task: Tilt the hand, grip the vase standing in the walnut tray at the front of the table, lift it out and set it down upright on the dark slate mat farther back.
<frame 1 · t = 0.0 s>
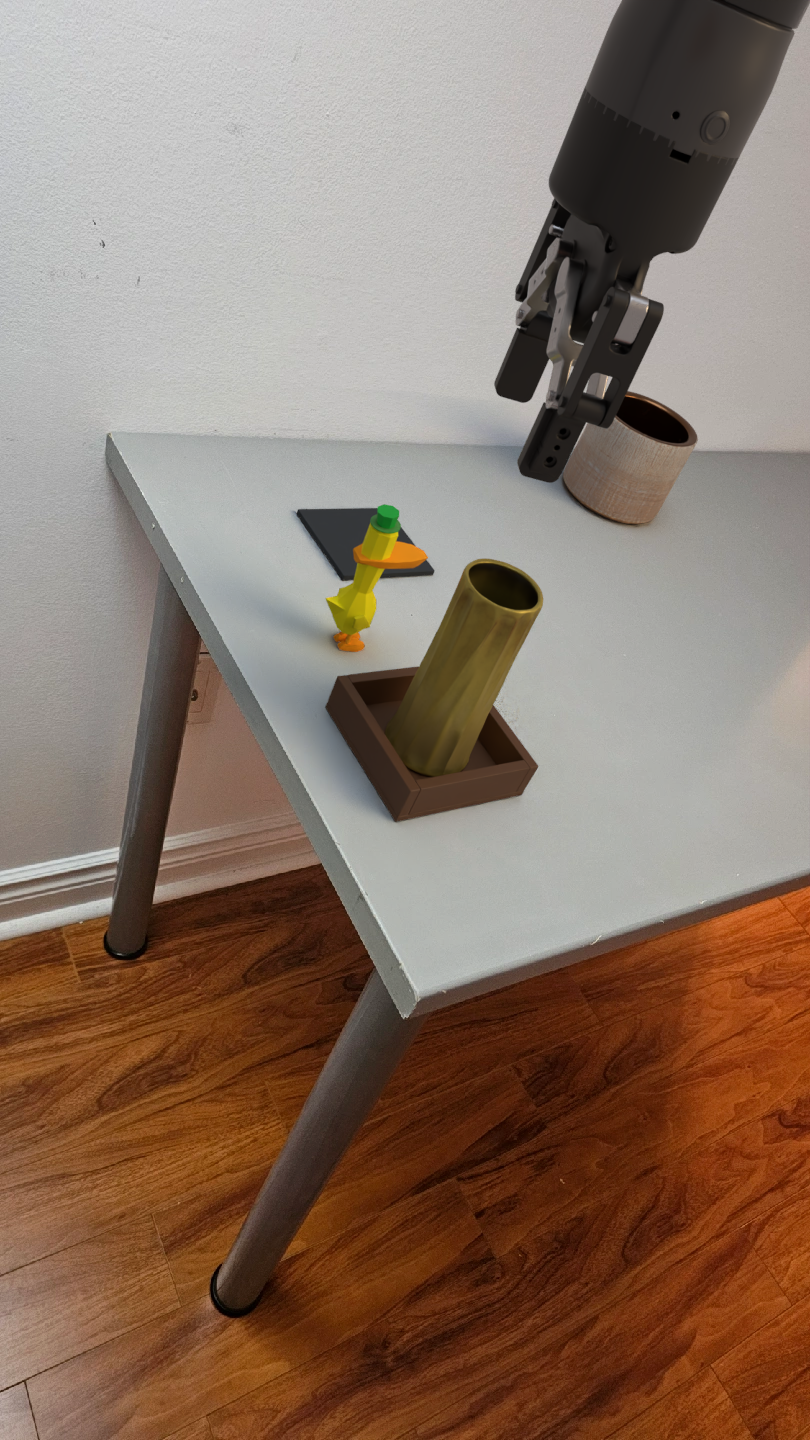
hand: (522, 434, 57), 24 cm above the table, tool pointing down, fingers open, 8 cm apart
vase: (424, 748, 73), resting on tray
tray: (423, 751, 73), on the table
mat: (364, 544, 90), on the table
planter: (606, 498, 112), on the table
toy figure: (349, 645, 79), on the table
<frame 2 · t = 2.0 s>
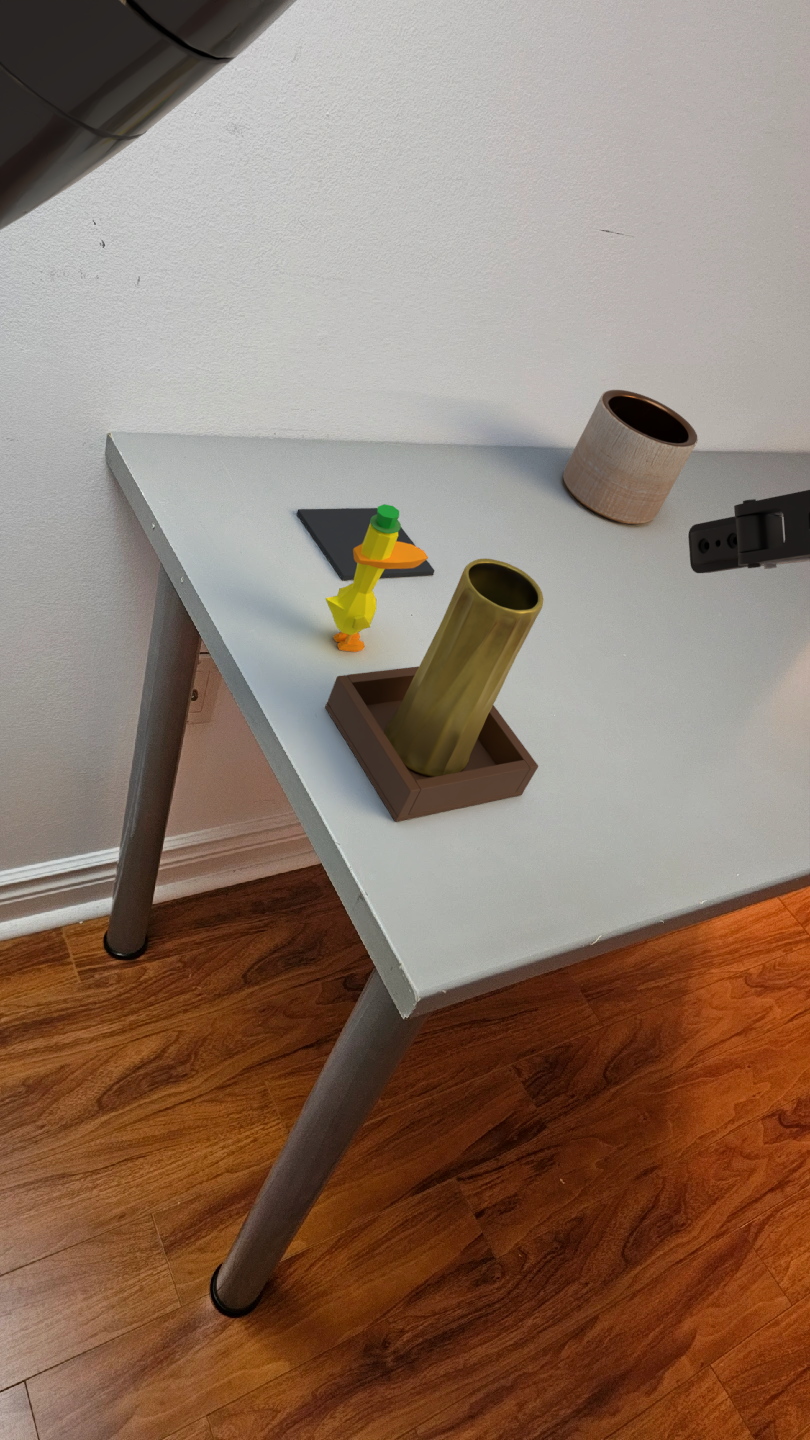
hand: (756, 548, 50), 27 cm above the table, tool tilted 45°, fingers open, 8 cm apart
nothing on the table moved.
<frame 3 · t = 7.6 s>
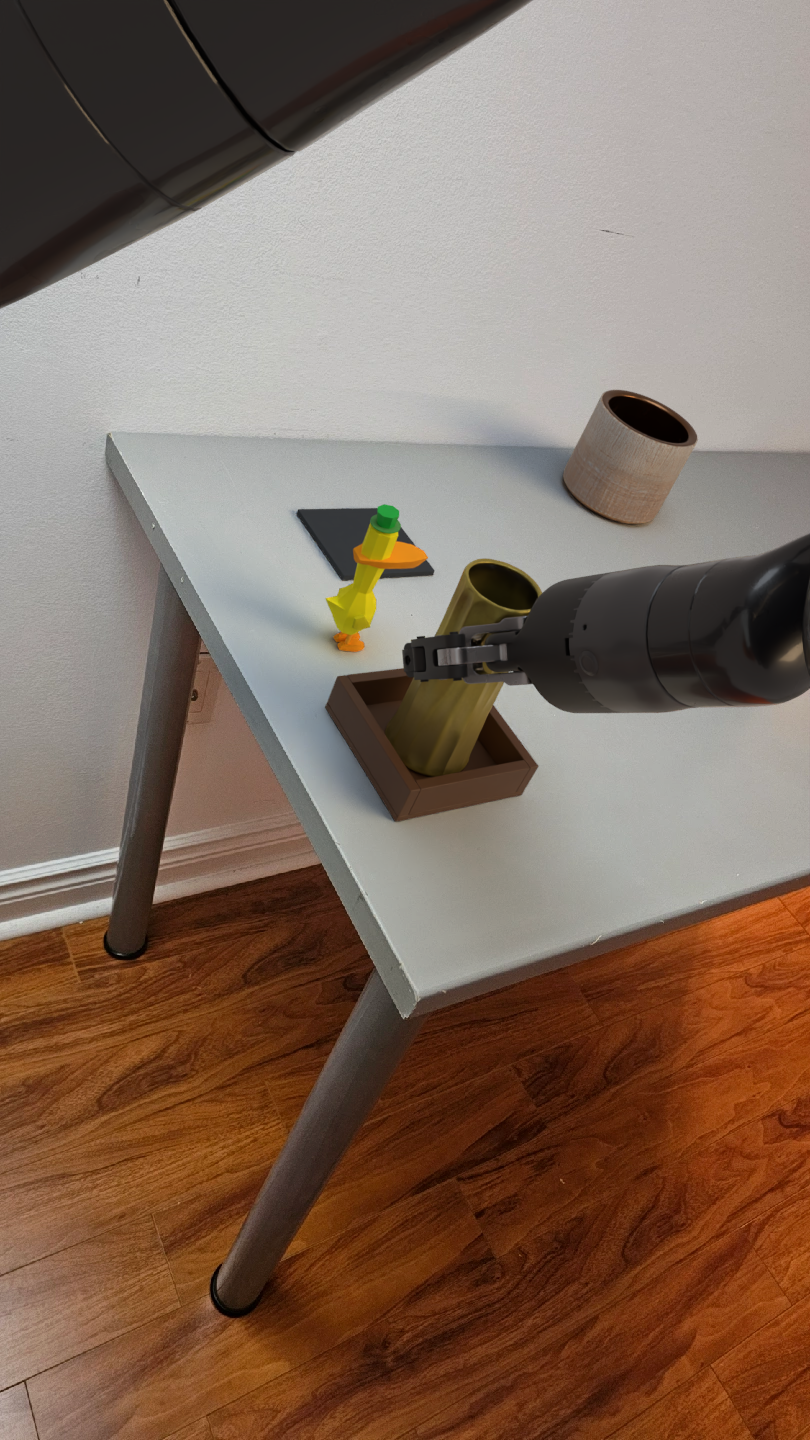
hand: (447, 657, 70), 7 cm above the table, tool tilted 45°, fingers closed on vase, 5 cm apart
vase: (424, 748, 73), resting on tray, touching gripper
everything else where it was.
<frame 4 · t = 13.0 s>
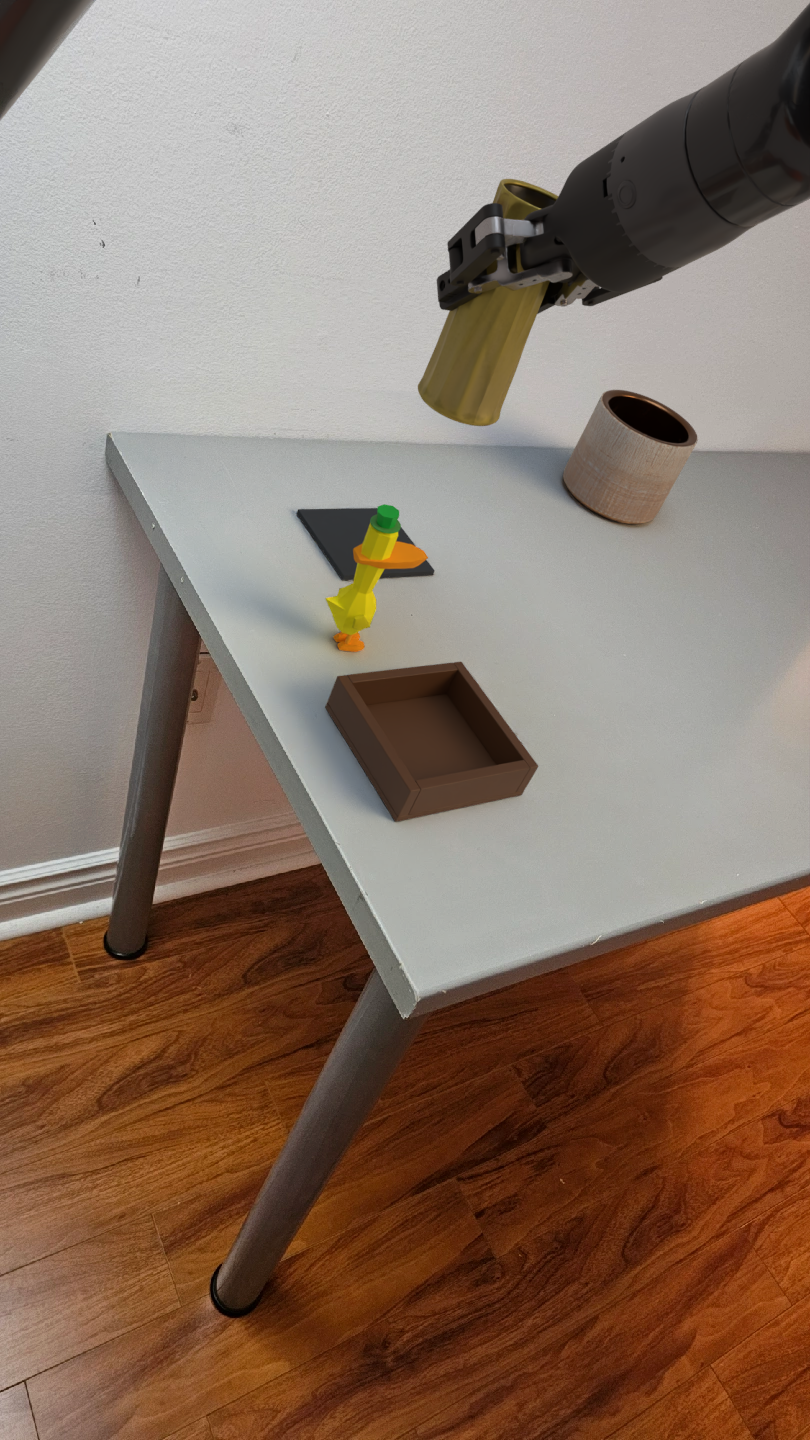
hand: (480, 300, 71), 24 cm above the table, tool tilted 45°, fingers closed on vase, 5 cm apart
vase: (456, 406, 74), point 17 cm above the table, touching gripper
everything else where it was.
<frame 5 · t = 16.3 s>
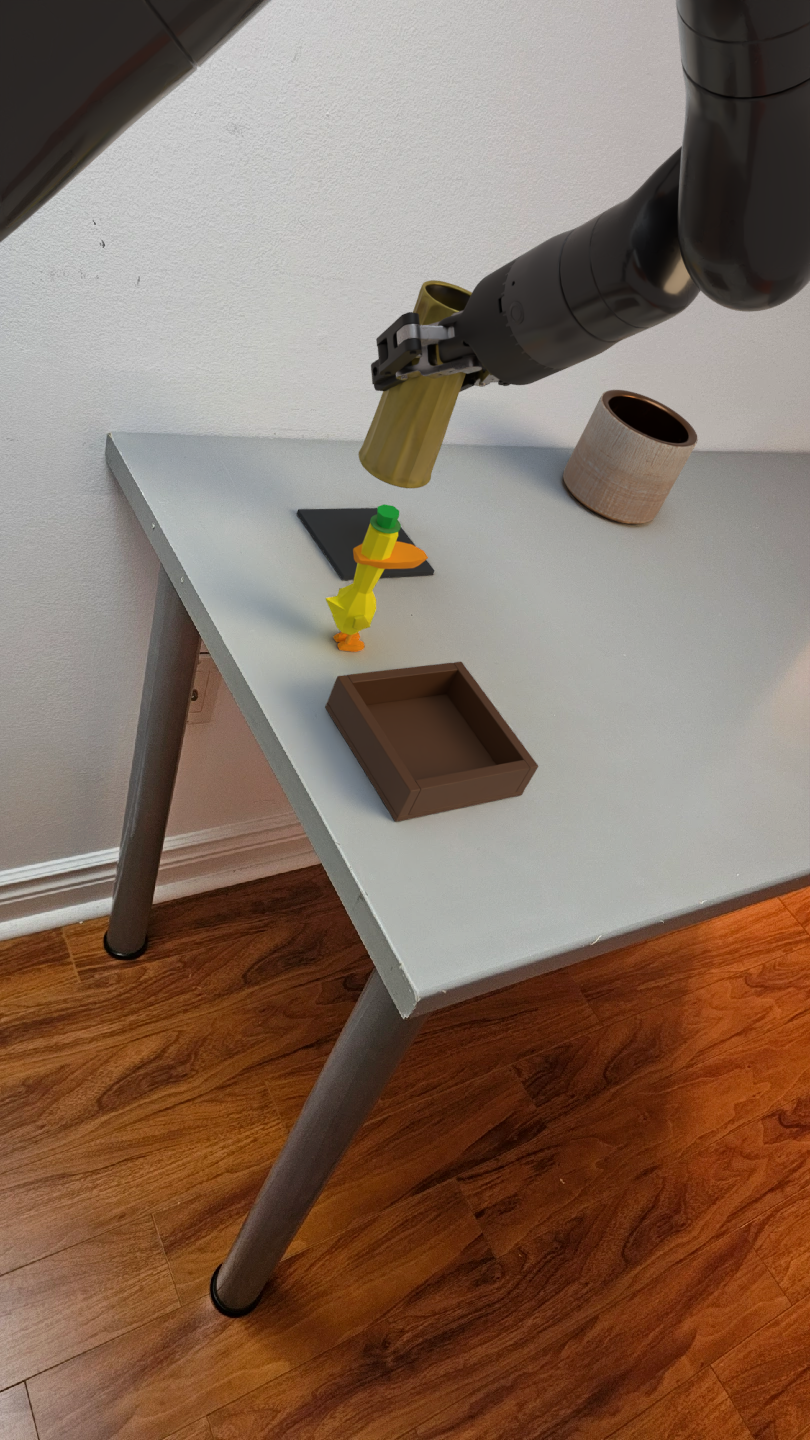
hand: (410, 380, 82), 14 cm above the table, tool tilted 45°, fingers closed on vase, 5 cm apart
vase: (393, 470, 85), point 8 cm above the table, touching gripper
everything else where it was.
when the fingers open (7 cm above the table, at t = 18.8 s): vase stays where it is, resting on mat.
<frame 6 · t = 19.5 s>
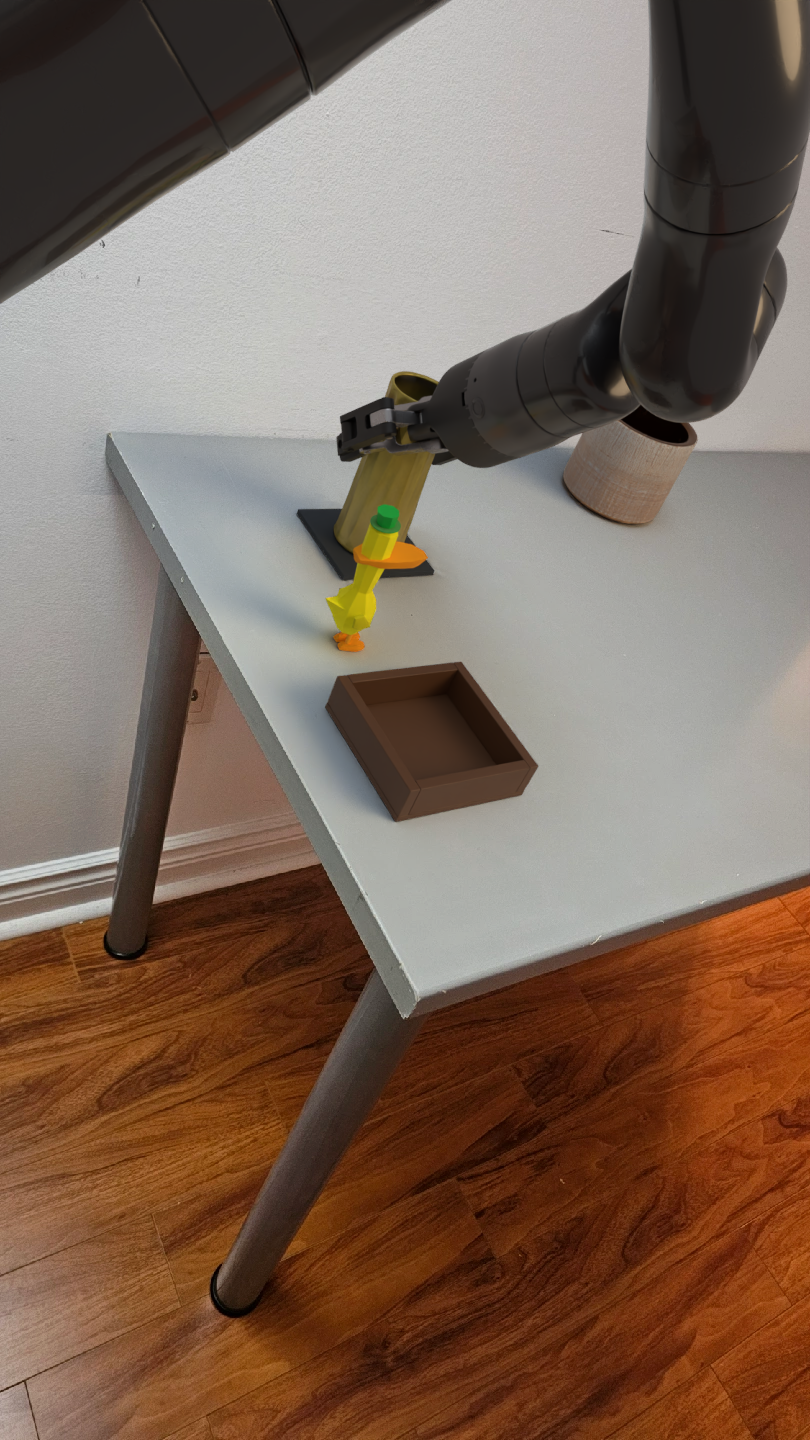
hand: (388, 450, 85), 8 cm above the table, tool tilted 45°, fingers open, 8 cm apart
vase: (366, 542, 89), resting on mat
everything else where it was.
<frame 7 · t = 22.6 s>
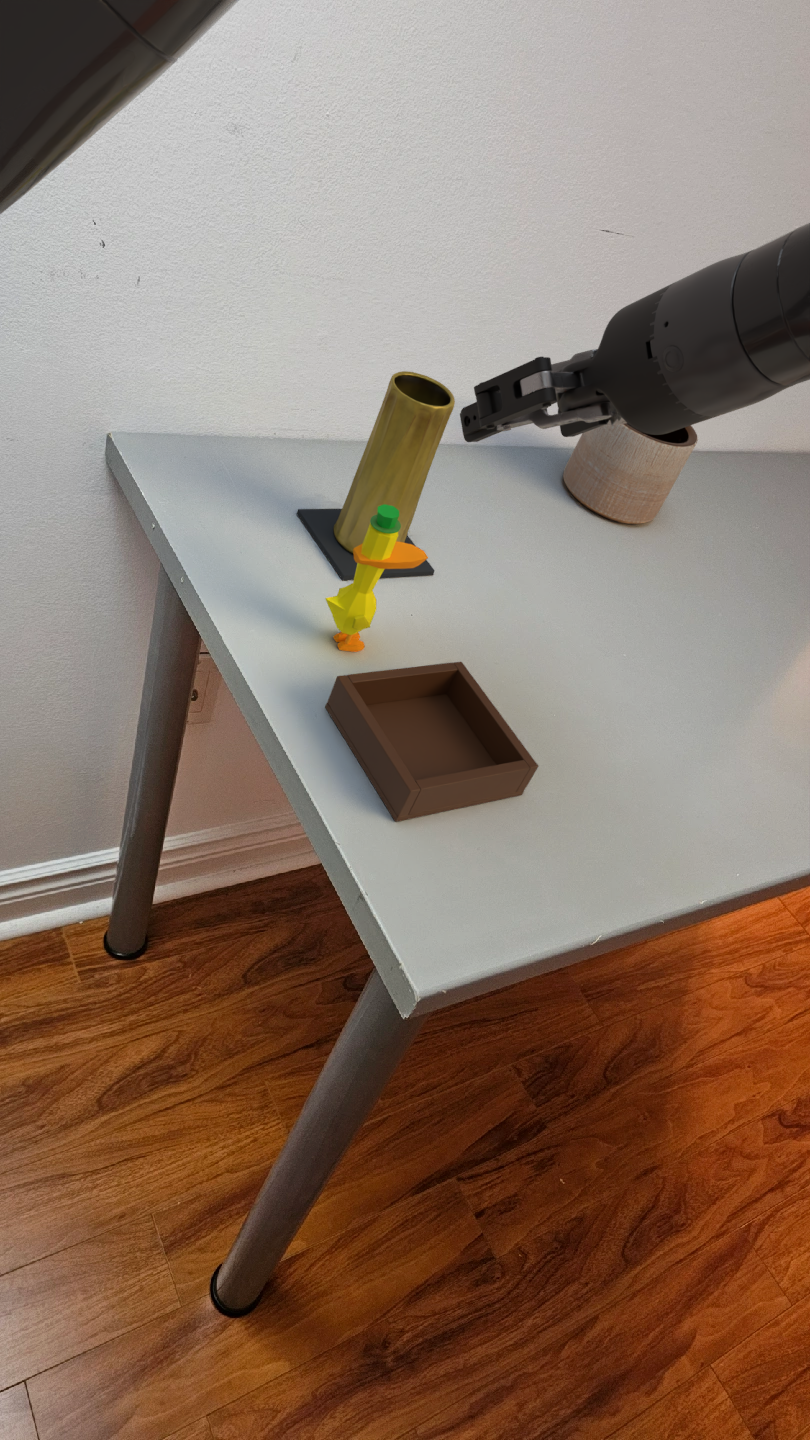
hand: (515, 424, 71), 19 cm above the table, tool tilted 45°, fingers open, 8 cm apart
nothing on the table moved.
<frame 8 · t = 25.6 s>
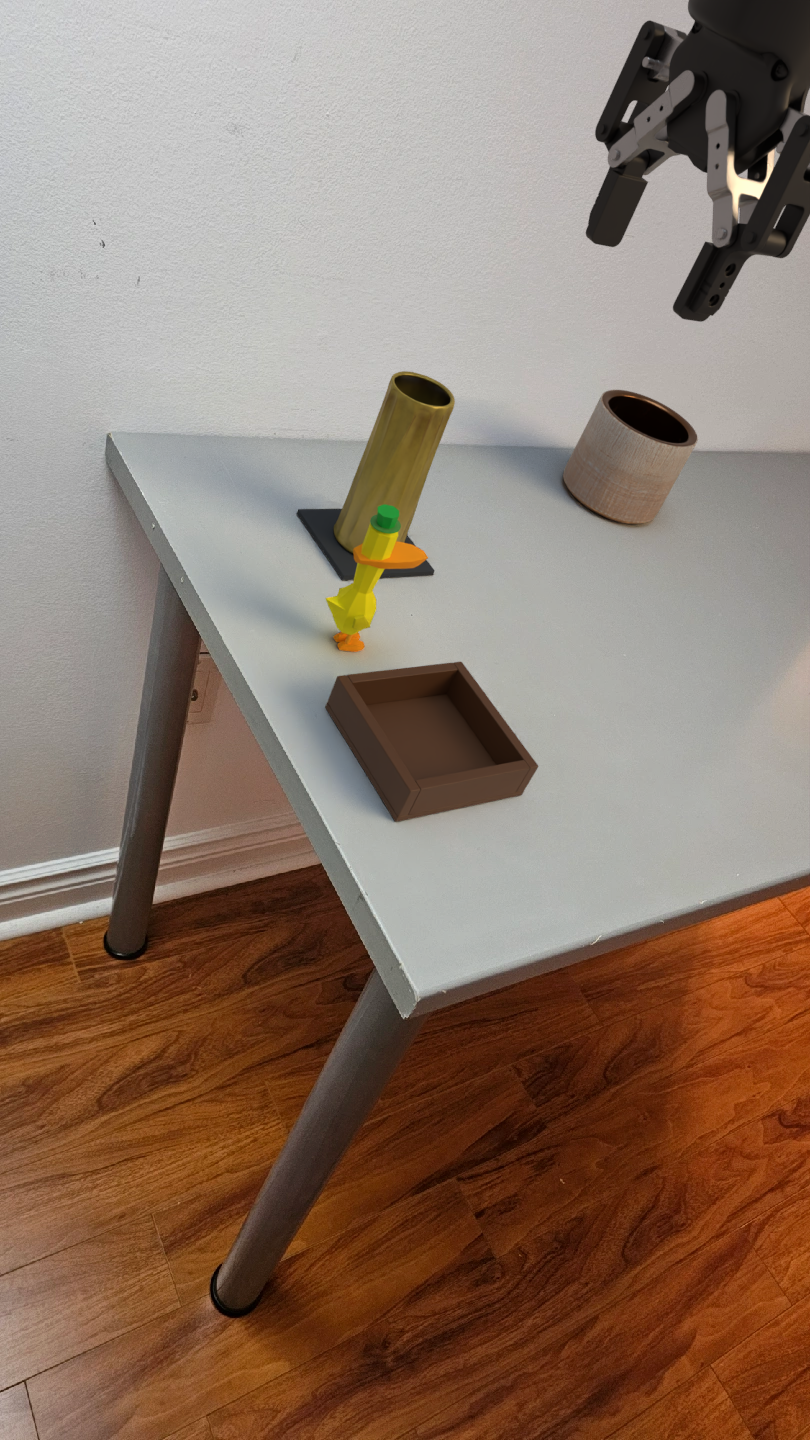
hand: (642, 278, 58), 32 cm above the table, tool pointing down, fingers open, 8 cm apart
nothing on the table moved.
at the end: vase inside the target area on the mat (0.2 cm from its centre), point 0.3 cm above the mat's base; vase tilted 0°; vase touching mat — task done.
